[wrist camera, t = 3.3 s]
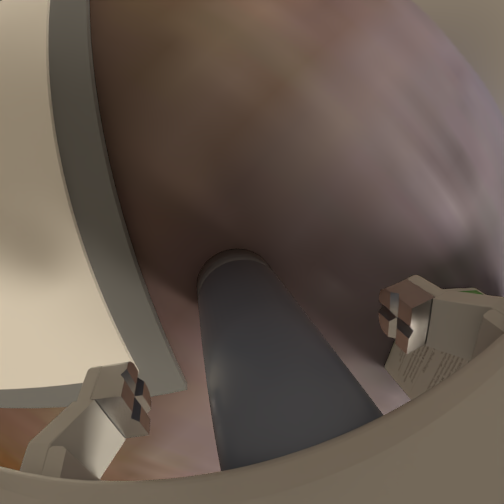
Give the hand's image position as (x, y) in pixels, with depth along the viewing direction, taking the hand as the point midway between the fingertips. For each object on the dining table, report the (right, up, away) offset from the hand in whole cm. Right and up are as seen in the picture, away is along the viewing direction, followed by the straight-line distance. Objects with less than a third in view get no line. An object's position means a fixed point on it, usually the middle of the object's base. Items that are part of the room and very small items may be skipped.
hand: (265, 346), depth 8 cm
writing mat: (-16, +5, +1) cm, 17 cm away
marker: (-1, +1, +5) cm, 5 cm away
